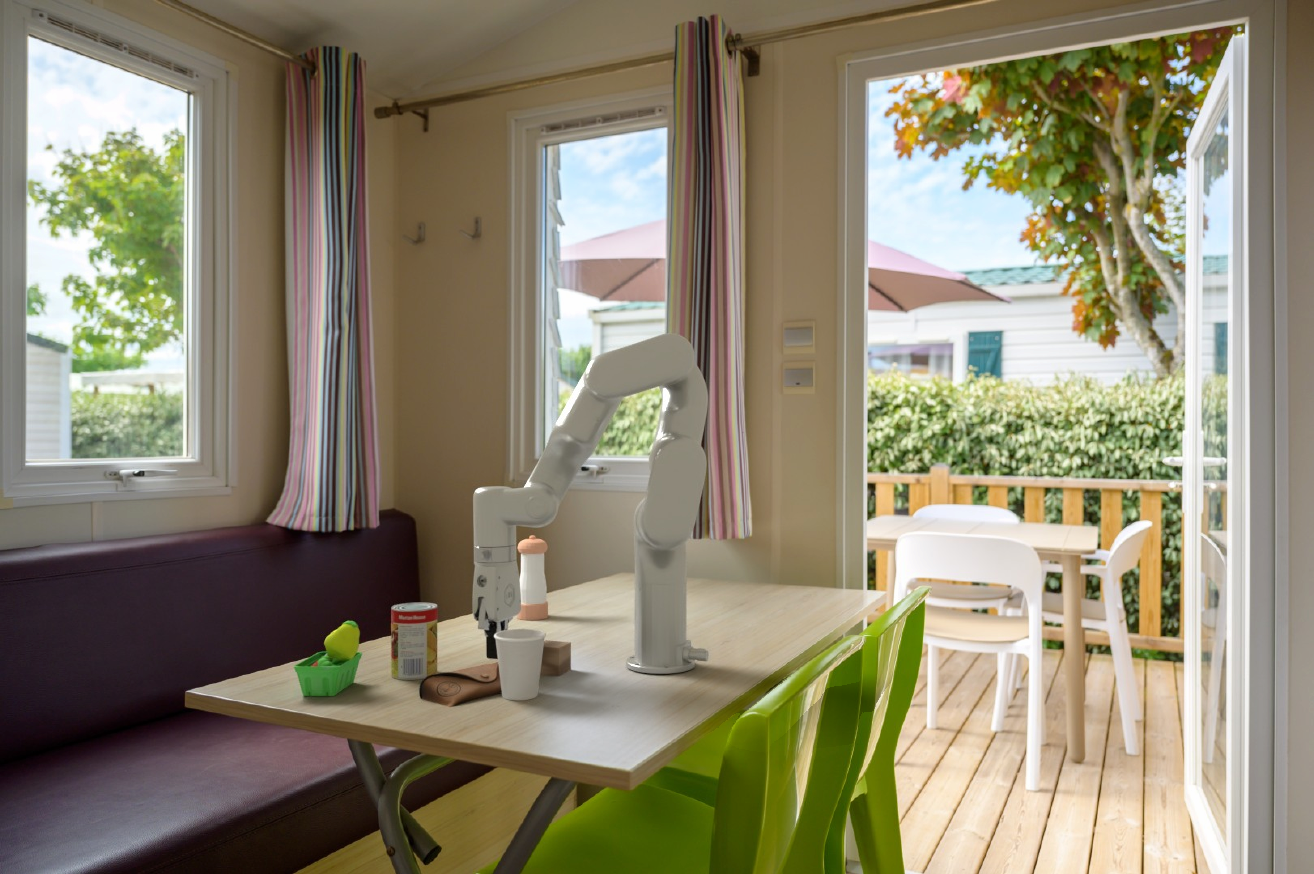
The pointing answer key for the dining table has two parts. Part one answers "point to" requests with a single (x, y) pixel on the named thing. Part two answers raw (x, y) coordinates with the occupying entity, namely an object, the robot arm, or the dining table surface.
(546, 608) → the pepper shaker
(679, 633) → the robot arm
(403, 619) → the canned food
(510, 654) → the dixie cup
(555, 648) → the walnut block
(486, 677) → the sunglasses case
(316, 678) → the fruit basket
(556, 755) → the dining table surface
